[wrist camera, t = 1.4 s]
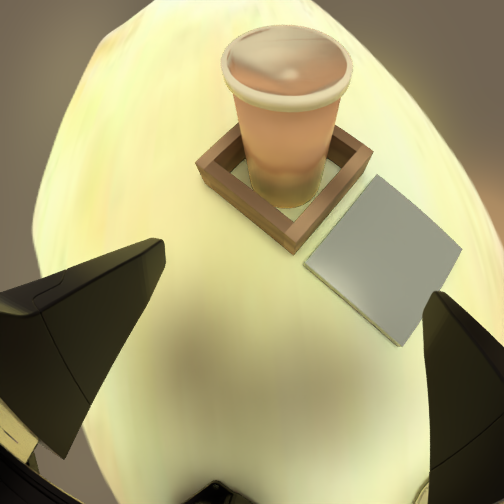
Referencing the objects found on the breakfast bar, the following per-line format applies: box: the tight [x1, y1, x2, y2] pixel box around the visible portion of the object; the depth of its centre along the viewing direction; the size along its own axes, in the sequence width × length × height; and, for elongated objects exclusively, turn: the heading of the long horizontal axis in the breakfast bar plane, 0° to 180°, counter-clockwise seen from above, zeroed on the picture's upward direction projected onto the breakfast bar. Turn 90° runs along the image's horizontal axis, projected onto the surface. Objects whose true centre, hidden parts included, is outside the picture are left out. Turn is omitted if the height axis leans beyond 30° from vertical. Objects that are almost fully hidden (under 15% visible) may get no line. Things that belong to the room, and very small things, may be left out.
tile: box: [304, 175, 462, 347], centre depth 22 cm, size 10×10×1 cm
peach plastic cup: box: [221, 25, 353, 208], centre depth 19 cm, size 9×7×13 cm
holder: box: [195, 123, 374, 255], centre depth 23 cm, size 10×10×4 cm
